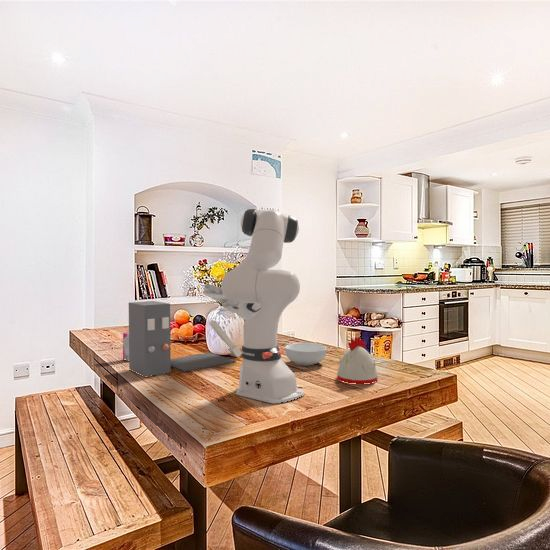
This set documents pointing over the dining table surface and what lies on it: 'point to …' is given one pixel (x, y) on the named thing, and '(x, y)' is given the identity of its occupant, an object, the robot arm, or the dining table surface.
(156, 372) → the switch panel
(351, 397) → the dining table surface
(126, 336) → the supplement box
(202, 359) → the rubber mat
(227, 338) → the paddle lever
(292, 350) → the cereal bowl
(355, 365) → the beanie hat
